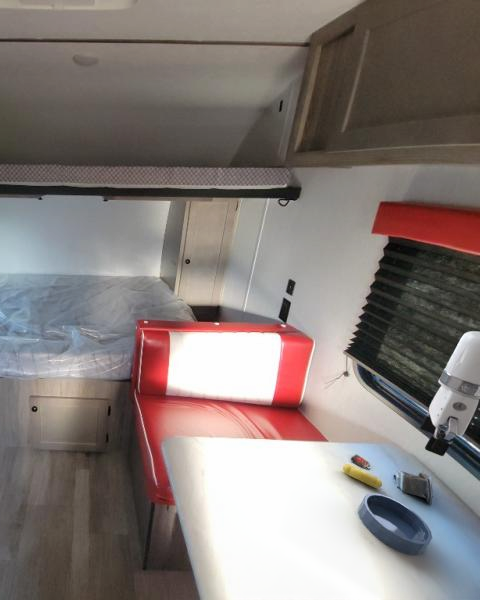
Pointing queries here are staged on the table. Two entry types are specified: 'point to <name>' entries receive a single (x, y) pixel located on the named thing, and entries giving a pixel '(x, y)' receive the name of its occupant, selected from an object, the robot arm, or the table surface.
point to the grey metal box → (415, 484)
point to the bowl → (394, 524)
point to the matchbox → (360, 461)
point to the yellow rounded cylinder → (362, 476)
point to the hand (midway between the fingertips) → (430, 441)
